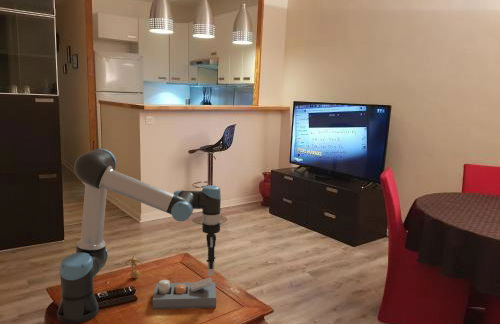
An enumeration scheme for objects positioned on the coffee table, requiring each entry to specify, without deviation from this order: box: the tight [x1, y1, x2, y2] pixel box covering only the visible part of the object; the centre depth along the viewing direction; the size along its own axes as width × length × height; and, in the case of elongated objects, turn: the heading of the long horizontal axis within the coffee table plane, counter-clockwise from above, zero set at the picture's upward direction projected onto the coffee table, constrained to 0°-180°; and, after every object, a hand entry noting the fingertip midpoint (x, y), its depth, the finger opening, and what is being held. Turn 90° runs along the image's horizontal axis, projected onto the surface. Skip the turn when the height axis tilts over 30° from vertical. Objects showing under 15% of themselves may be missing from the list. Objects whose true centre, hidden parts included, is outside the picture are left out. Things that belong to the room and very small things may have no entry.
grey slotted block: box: [152, 281, 217, 311], centre depth 172 cm, size 26×14×6 cm, turn 97°
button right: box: [175, 284, 186, 294], centre depth 171 cm, size 5×5×4 cm
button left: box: [158, 279, 171, 295], centre depth 170 cm, size 5×5×4 cm
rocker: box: [190, 276, 213, 292], centre depth 172 cm, size 9×6×2 cm, turn 97°
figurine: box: [125, 255, 144, 279], centre depth 188 cm, size 8×6×12 cm
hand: (210, 274), depth 171 cm, fingers closed
